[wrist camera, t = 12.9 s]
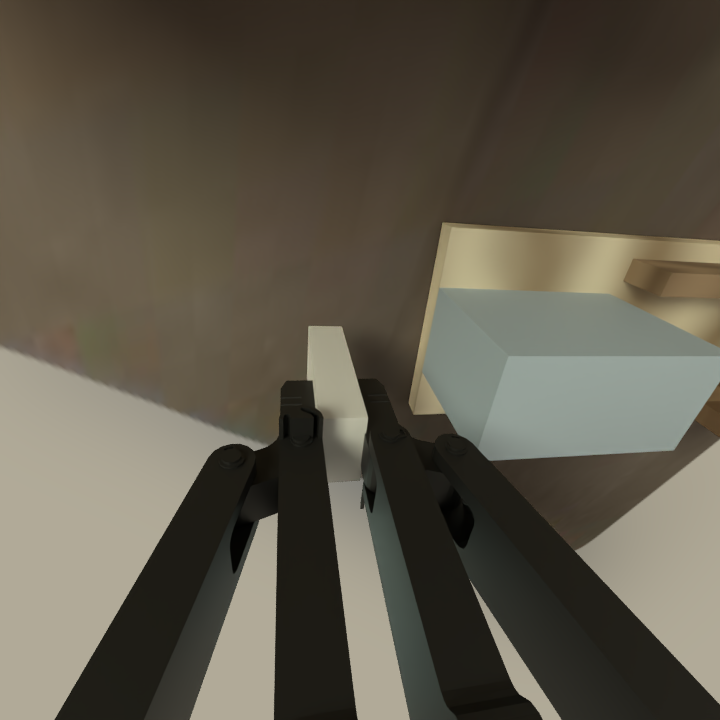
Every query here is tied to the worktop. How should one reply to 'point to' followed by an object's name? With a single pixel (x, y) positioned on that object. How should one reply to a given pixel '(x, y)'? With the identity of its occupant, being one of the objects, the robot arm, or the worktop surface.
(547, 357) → the pale blue tall block
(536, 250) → the rail board
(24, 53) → the worktop surface
